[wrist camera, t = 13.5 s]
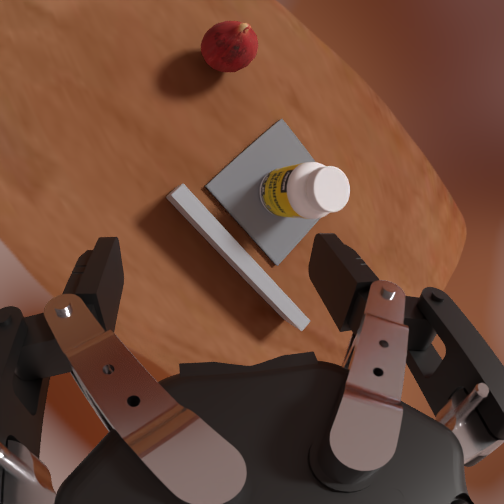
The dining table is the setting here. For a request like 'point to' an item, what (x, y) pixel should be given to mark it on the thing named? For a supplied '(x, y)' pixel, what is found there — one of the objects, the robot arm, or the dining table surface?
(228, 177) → the slate mat
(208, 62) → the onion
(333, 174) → the supplement bottle
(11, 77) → the dining table surface
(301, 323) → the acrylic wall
